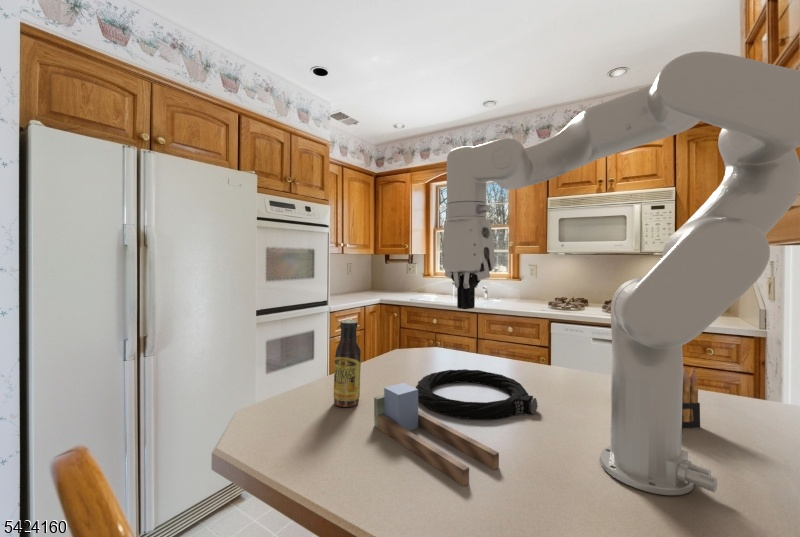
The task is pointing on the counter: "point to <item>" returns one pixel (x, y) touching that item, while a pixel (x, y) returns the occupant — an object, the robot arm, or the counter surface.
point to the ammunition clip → (690, 401)
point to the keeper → (402, 405)
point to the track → (431, 452)
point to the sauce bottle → (347, 367)
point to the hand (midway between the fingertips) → (465, 308)
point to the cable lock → (476, 410)
